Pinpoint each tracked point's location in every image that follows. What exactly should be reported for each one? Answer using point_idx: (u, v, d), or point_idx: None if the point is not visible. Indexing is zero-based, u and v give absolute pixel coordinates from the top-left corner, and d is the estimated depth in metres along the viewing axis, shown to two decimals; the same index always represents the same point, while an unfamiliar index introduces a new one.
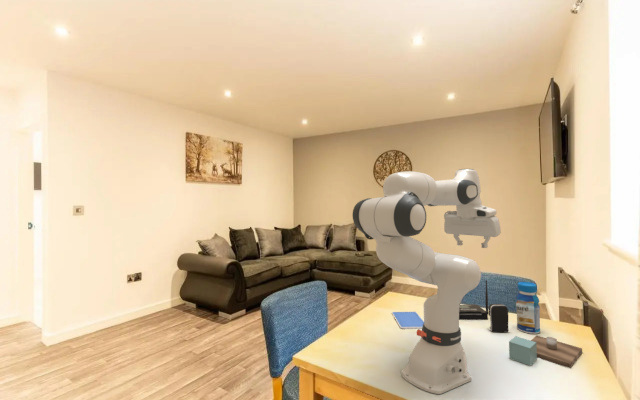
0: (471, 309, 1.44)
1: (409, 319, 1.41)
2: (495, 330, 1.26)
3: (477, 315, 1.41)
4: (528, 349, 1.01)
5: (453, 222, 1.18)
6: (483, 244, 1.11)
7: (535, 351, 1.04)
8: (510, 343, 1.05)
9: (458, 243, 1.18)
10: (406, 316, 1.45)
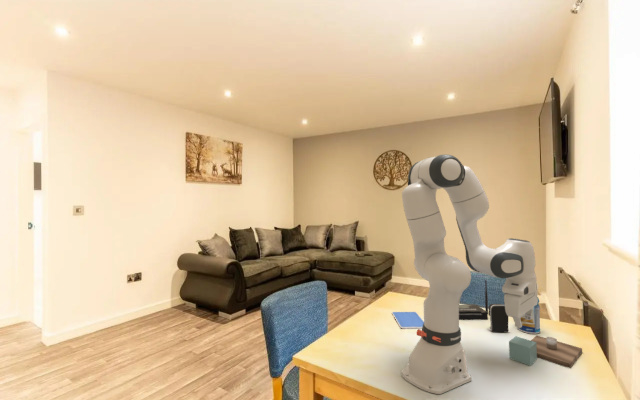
0: (471, 309, 1.44)
1: (409, 319, 1.41)
2: (495, 330, 1.26)
3: (477, 315, 1.40)
4: (528, 349, 1.01)
5: None
6: None
7: (535, 351, 1.04)
8: (510, 343, 1.05)
9: None
10: (406, 316, 1.45)
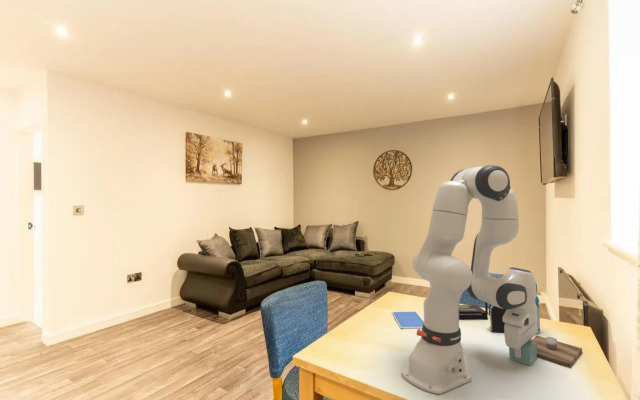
0: (471, 309, 1.44)
1: (409, 319, 1.41)
2: (495, 330, 1.26)
3: (477, 315, 1.40)
4: (528, 349, 1.01)
5: None
6: None
7: (535, 351, 1.04)
8: None
9: None
10: (406, 316, 1.45)
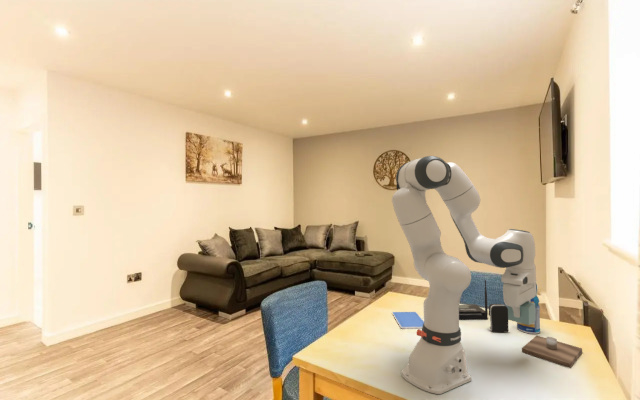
0: (471, 309, 1.44)
1: (409, 319, 1.41)
2: (495, 330, 1.26)
3: (477, 315, 1.40)
4: (527, 309, 1.01)
5: None
6: None
7: (534, 312, 1.04)
8: None
9: None
10: (406, 316, 1.45)
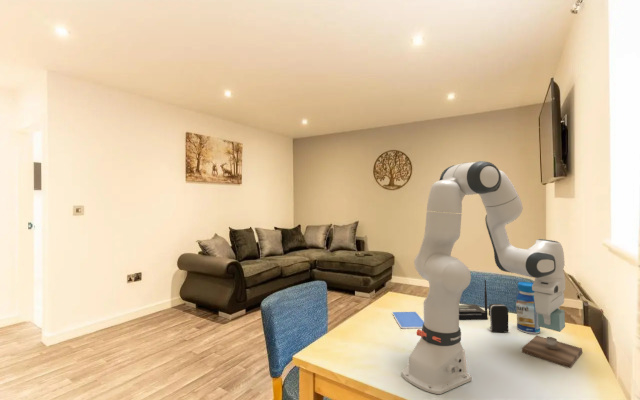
0: (471, 309, 1.44)
1: (409, 319, 1.41)
2: (495, 330, 1.26)
3: (477, 315, 1.40)
4: (557, 316, 1.05)
5: None
6: None
7: (563, 318, 1.08)
8: None
9: None
10: (406, 316, 1.45)
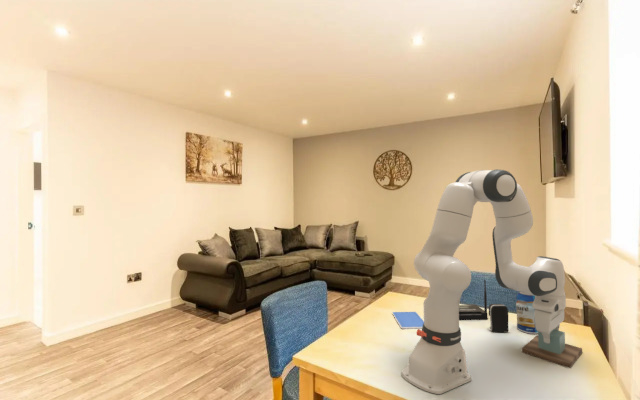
0: (471, 309, 1.44)
1: (409, 319, 1.41)
2: (495, 330, 1.26)
3: (477, 315, 1.40)
4: (558, 338, 1.05)
5: None
6: None
7: (564, 340, 1.08)
8: (539, 333, 1.09)
9: None
10: (406, 316, 1.45)
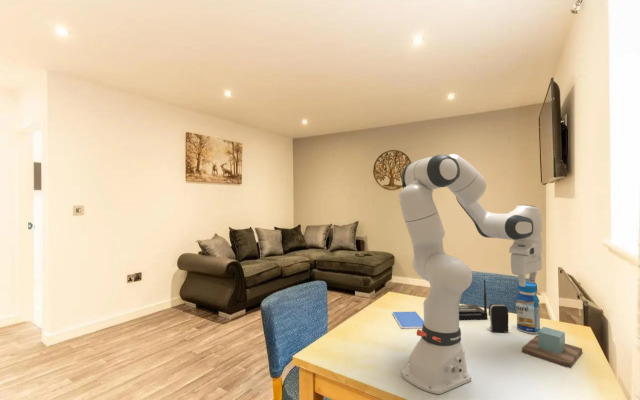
0: (470, 309, 1.44)
1: (409, 319, 1.41)
2: (495, 330, 1.26)
3: (477, 315, 1.40)
4: (558, 338, 1.05)
5: None
6: None
7: (564, 340, 1.08)
8: (539, 333, 1.09)
9: None
10: (406, 316, 1.45)
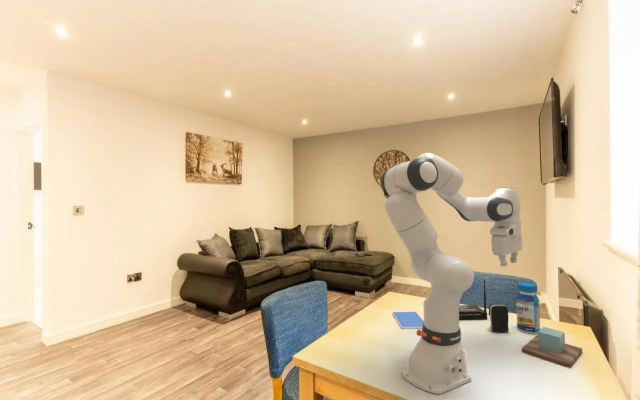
0: (470, 309, 1.44)
1: (409, 319, 1.41)
2: (495, 330, 1.26)
3: (477, 315, 1.40)
4: (558, 338, 1.05)
5: None
6: None
7: (564, 340, 1.08)
8: (539, 333, 1.09)
9: None
10: (406, 316, 1.45)
